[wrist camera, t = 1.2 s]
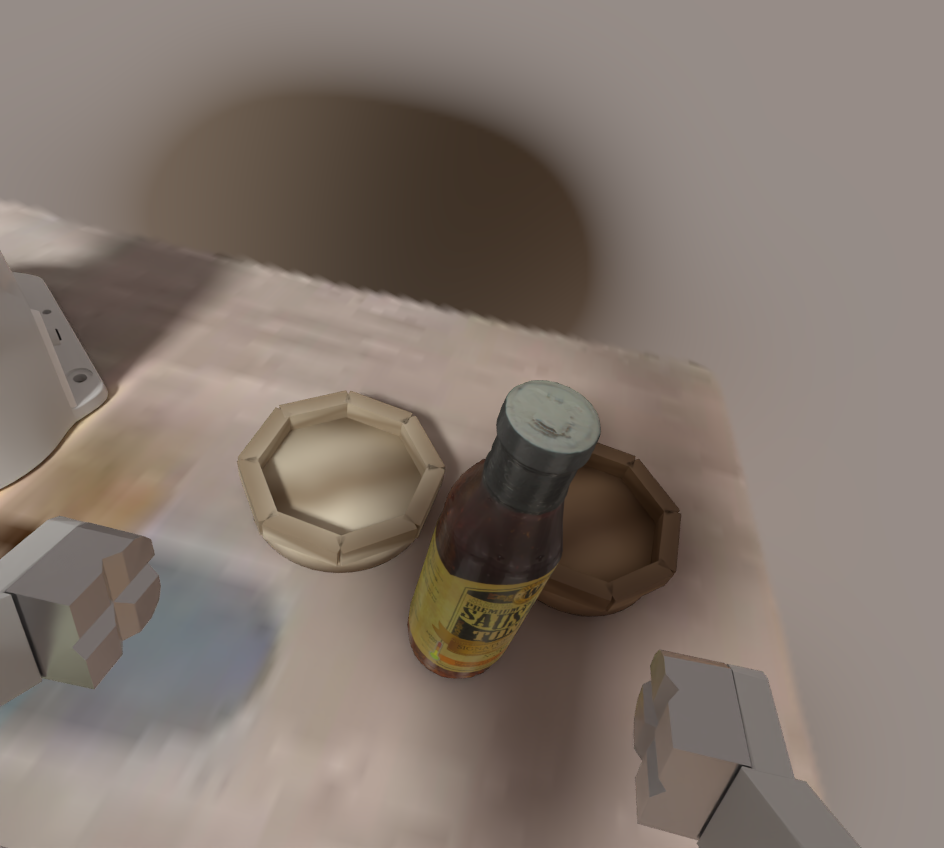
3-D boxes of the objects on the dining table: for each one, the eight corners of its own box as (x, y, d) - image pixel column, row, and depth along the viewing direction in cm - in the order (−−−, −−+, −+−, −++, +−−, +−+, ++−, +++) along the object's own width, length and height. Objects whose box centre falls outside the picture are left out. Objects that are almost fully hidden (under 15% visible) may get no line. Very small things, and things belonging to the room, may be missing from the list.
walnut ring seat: (459, 493, 46) (468, 464, 44) (594, 450, 52) (609, 421, 49) (548, 648, 40) (565, 624, 37) (692, 580, 45) (715, 555, 43)
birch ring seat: (227, 451, 45) (222, 418, 42) (390, 411, 50) (394, 379, 48) (279, 603, 38) (277, 575, 36) (461, 538, 44) (470, 510, 41)
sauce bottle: (435, 704, 36) (520, 507, 22) (387, 610, 39) (433, 384, 25) (528, 653, 39) (657, 450, 25) (476, 570, 42) (564, 347, 28)
